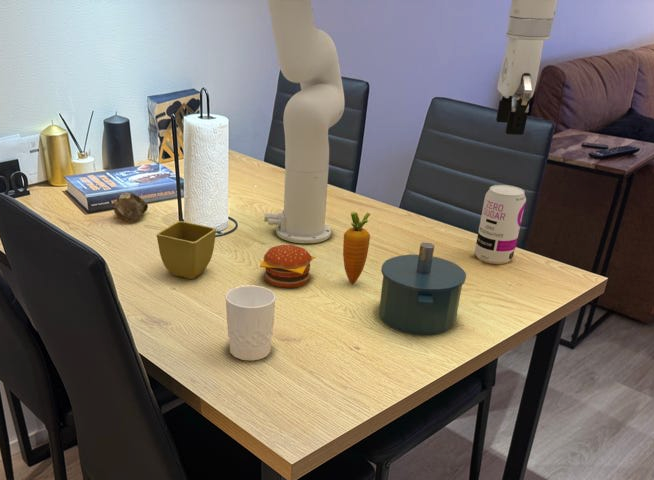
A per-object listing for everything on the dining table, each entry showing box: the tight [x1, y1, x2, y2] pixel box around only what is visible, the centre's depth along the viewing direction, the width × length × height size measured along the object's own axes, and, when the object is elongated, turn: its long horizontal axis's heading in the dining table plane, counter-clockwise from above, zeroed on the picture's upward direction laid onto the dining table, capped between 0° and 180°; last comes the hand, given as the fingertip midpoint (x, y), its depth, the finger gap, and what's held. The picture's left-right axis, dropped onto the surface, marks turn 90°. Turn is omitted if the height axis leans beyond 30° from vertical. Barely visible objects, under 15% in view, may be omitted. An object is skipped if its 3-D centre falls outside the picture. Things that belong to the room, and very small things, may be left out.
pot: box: [378, 275, 463, 336], centre depth 123 cm, size 14×19×8 cm
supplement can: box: [473, 184, 527, 265], centre depth 146 cm, size 8×8×15 cm
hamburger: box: [259, 244, 316, 289], centre depth 136 cm, size 9×10×7 cm
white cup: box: [225, 284, 277, 362], centre depth 111 cm, size 8×8×10 cm
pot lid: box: [380, 242, 467, 292], centre depth 120 cm, size 15×15×6 cm
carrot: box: [342, 211, 371, 285], centre depth 133 cm, size 5×5×15 cm
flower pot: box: [156, 220, 217, 280], centre depth 136 cm, size 9×9×9 cm
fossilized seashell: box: [113, 192, 149, 222], centre depth 164 cm, size 8×7×10 cm
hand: (509, 127), depth 131 cm, fingers open, 9 cm apart
